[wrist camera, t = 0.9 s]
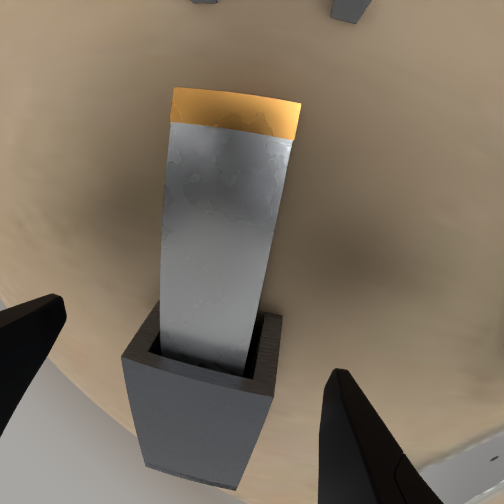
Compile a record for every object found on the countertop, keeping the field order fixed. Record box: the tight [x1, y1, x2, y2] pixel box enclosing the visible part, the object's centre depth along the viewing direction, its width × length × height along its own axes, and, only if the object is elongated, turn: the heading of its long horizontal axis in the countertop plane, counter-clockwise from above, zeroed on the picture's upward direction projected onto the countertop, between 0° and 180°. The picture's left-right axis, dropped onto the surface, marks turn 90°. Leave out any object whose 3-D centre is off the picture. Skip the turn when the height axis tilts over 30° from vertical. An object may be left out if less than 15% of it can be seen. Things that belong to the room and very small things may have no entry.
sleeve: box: [121, 299, 283, 491], centre depth 18 cm, size 7×13×6 cm, turn 171°
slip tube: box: [160, 87, 301, 377], centre depth 16 cm, size 4×22×4 cm, turn 170°
